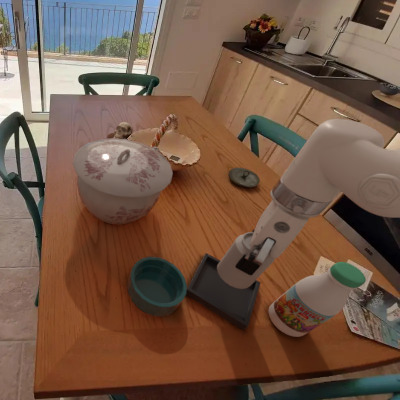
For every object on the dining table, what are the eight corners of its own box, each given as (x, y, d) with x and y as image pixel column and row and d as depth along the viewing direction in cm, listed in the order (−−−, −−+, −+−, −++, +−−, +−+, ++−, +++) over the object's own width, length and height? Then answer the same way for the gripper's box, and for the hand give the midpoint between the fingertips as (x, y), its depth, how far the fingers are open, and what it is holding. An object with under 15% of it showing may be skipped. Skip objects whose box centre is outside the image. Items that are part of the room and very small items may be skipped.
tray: (256, 286, 67) (260, 282, 65) (243, 330, 59) (247, 326, 57) (202, 257, 72) (205, 252, 71) (184, 293, 64) (187, 289, 63)
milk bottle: (268, 297, 65) (323, 247, 51) (304, 314, 62) (373, 266, 48) (266, 325, 60) (327, 277, 46) (305, 345, 57) (383, 300, 43)
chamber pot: (70, 240, 74) (74, 181, 60) (70, 178, 94) (72, 124, 80) (169, 241, 76) (195, 185, 62) (148, 180, 96) (164, 127, 82)
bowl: (187, 287, 65) (194, 276, 62) (166, 329, 58) (173, 319, 54) (142, 259, 71) (146, 248, 67) (117, 294, 63) (120, 283, 60)
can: (252, 295, 58) (284, 264, 50) (215, 284, 59) (241, 252, 51) (248, 267, 63) (276, 235, 55) (214, 257, 65) (237, 224, 56)
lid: (250, 178, 103) (254, 165, 101) (263, 189, 94) (269, 176, 92) (222, 176, 104) (226, 164, 101) (233, 187, 95) (237, 174, 93)
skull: (127, 149, 109) (115, 126, 106) (110, 155, 117) (99, 134, 115) (142, 138, 115) (132, 116, 113) (125, 145, 124) (115, 124, 121)
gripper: (322, 238, 37) (258, 298, 49) (328, 180, 48) (274, 241, 60) (265, 213, 41) (217, 275, 53) (282, 163, 51) (239, 225, 63)
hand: (248, 257), depth 56 cm, fingers closed on can, 7 cm apart
